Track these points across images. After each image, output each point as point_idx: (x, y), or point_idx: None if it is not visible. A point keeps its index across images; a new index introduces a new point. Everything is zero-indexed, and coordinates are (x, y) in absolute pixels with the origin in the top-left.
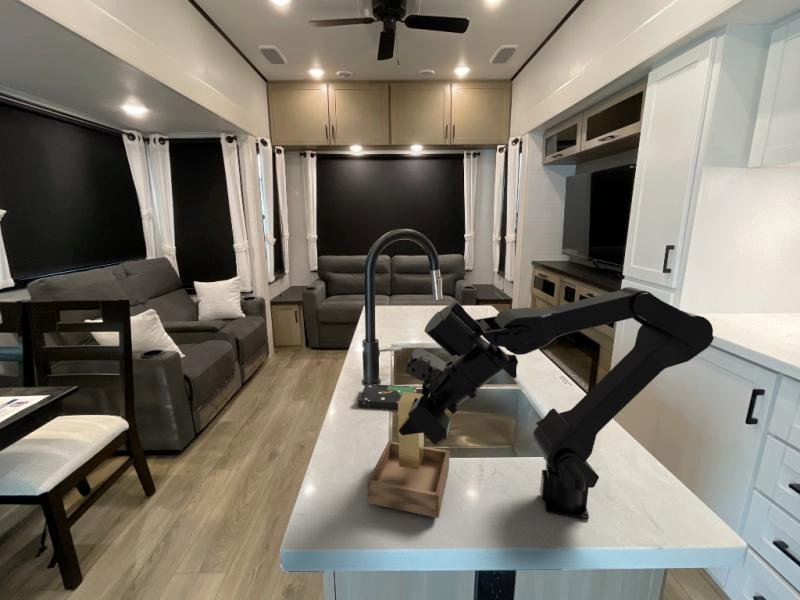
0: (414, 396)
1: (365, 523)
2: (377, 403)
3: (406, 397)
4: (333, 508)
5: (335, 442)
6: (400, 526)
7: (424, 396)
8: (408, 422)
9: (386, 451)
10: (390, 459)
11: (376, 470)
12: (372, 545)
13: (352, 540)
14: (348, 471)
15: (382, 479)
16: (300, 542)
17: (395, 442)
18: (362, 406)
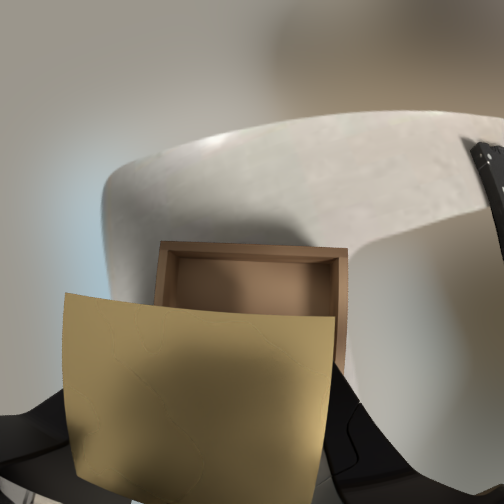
0: (221, 463)
1: (149, 263)
2: (491, 182)
3: (174, 377)
4: (174, 195)
5: (360, 132)
6: None
7: (329, 501)
8: None
9: (295, 255)
10: (310, 269)
11: (205, 250)
12: (112, 288)
13: (117, 253)
14: (280, 182)
15: (228, 269)
16: (112, 181)
17: (347, 270)
18: (475, 156)
